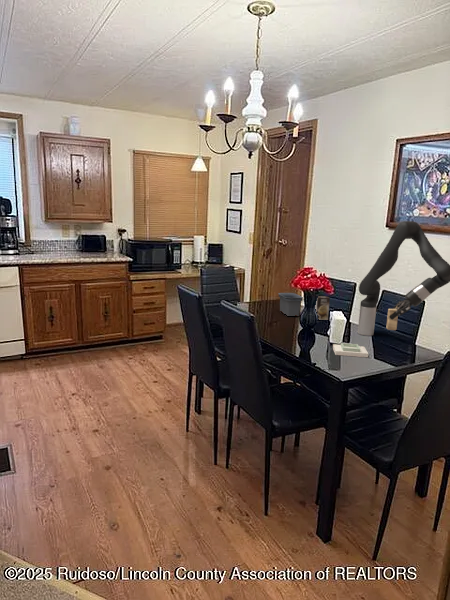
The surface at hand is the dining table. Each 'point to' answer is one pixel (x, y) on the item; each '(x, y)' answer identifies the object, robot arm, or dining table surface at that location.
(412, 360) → the dining table surface
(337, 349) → the socket base
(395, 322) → the birch pillar block
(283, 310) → the storage bin
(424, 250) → the robot arm
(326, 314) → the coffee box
